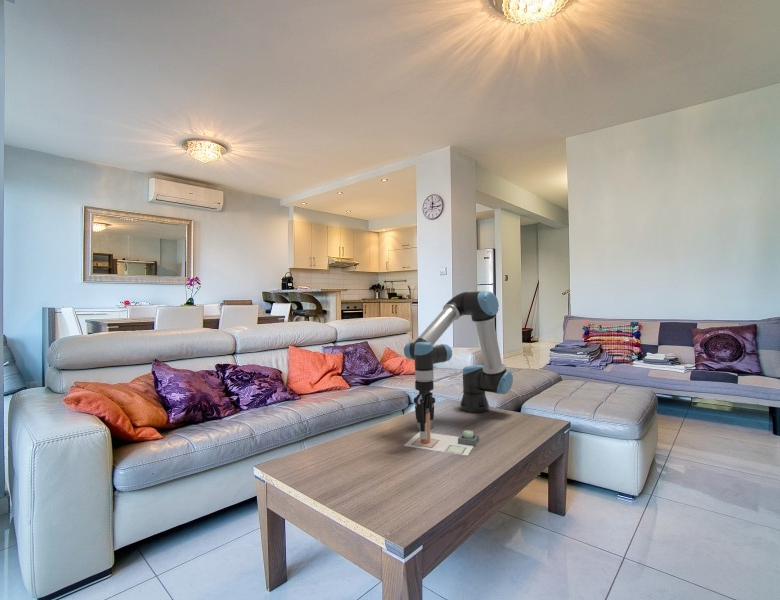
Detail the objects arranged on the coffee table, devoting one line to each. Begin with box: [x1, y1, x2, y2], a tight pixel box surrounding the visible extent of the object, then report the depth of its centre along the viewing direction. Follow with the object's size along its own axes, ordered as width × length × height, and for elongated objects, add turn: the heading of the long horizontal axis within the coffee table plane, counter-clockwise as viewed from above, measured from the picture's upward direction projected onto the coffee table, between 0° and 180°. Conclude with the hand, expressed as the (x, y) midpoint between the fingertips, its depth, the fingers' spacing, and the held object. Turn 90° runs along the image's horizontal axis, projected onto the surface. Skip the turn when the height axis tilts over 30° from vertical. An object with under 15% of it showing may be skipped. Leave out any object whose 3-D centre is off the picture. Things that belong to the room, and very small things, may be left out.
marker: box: [421, 408, 431, 444], centre depth 155 cm, size 4×4×14 cm
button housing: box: [458, 432, 480, 447], centre depth 155 cm, size 7×7×2 cm
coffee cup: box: [413, 393, 436, 430], centre depth 174 cm, size 10×10×15 cm
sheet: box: [403, 431, 475, 456], centre depth 154 cm, size 18×26×1 cm
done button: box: [462, 429, 474, 440], centre depth 155 cm, size 4×4×3 cm
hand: (425, 436), depth 155 cm, fingers closed on marker, 4 cm apart
